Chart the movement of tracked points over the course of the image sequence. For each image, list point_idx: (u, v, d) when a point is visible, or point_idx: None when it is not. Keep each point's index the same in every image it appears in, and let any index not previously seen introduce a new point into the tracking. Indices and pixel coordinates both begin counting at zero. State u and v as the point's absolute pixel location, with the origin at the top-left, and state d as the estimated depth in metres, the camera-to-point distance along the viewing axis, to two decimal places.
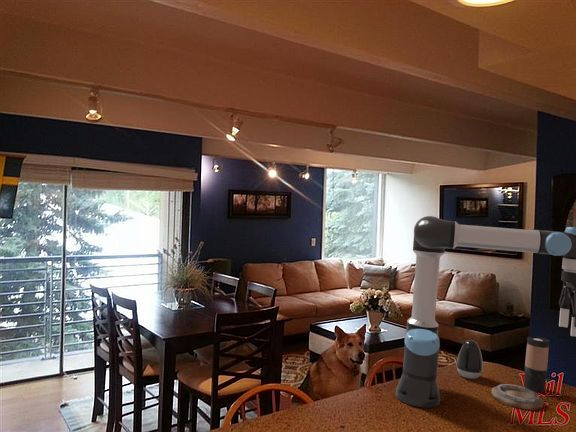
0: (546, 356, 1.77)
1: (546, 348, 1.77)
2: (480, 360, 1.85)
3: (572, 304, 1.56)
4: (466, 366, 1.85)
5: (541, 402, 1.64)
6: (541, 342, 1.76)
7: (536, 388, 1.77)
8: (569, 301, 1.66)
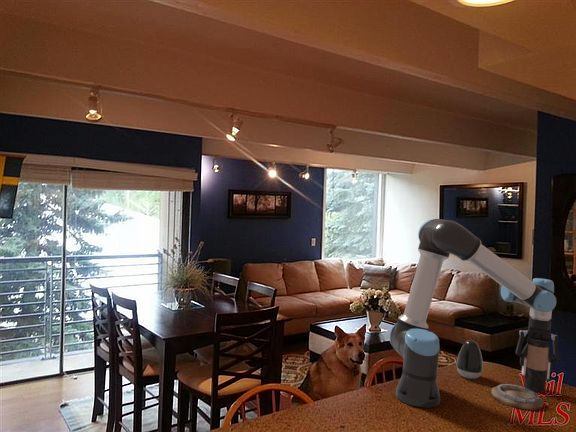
0: (546, 356, 1.77)
1: (546, 348, 1.77)
2: (480, 360, 1.85)
3: None
4: (466, 366, 1.85)
5: (541, 402, 1.64)
6: (541, 342, 1.76)
7: (536, 388, 1.77)
8: None
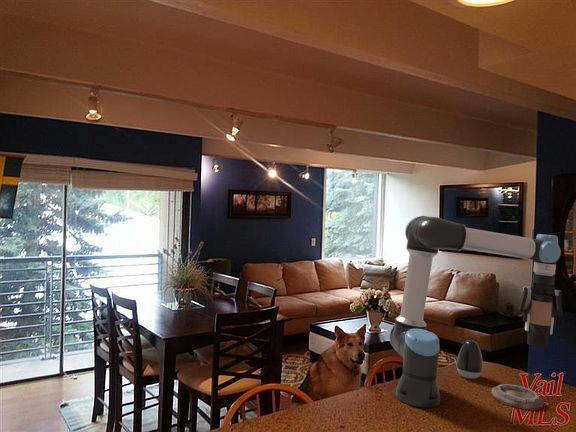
0: (550, 311, 1.76)
1: (550, 303, 1.76)
2: (480, 360, 1.85)
3: None
4: (466, 366, 1.85)
5: (541, 402, 1.64)
6: (545, 297, 1.76)
7: (540, 343, 1.77)
8: None
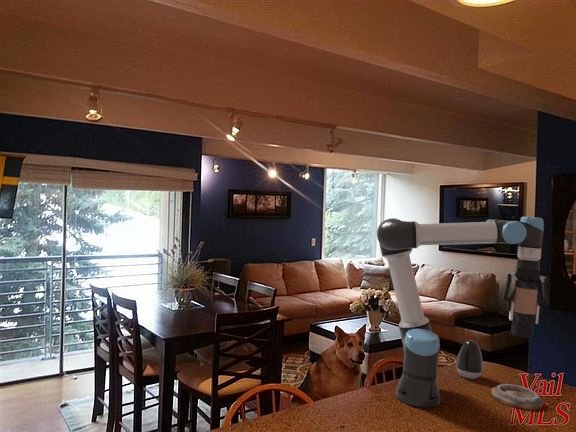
0: (535, 299, 1.64)
1: (535, 290, 1.64)
2: (480, 360, 1.85)
3: None
4: (466, 366, 1.85)
5: (541, 402, 1.64)
6: (529, 283, 1.64)
7: (524, 333, 1.65)
8: None
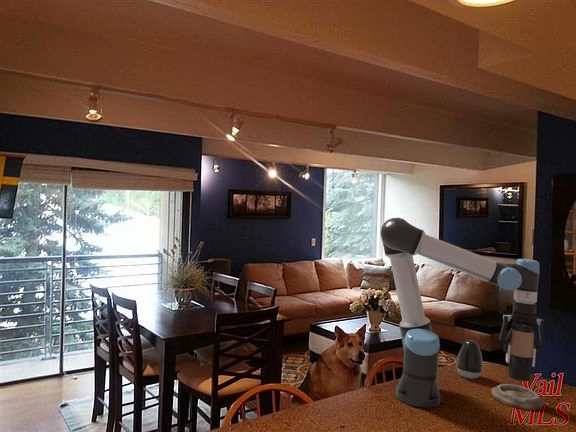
0: (531, 342, 1.65)
1: (531, 333, 1.65)
2: (480, 360, 1.85)
3: None
4: (466, 366, 1.85)
5: (541, 402, 1.64)
6: (526, 327, 1.64)
7: (521, 376, 1.65)
8: None
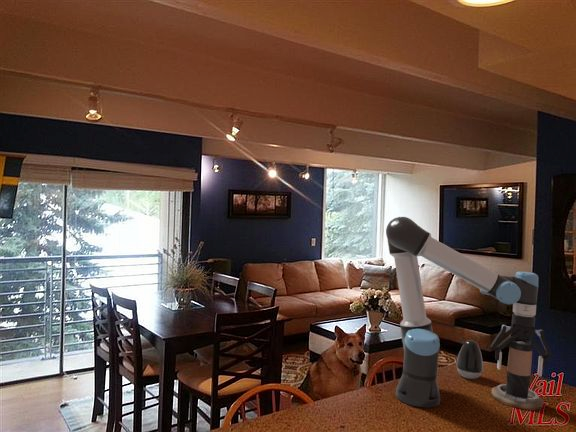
0: (529, 360, 1.65)
1: (529, 352, 1.65)
2: (480, 360, 1.85)
3: None
4: (466, 366, 1.85)
5: (541, 402, 1.64)
6: (524, 345, 1.64)
7: (519, 394, 1.65)
8: None
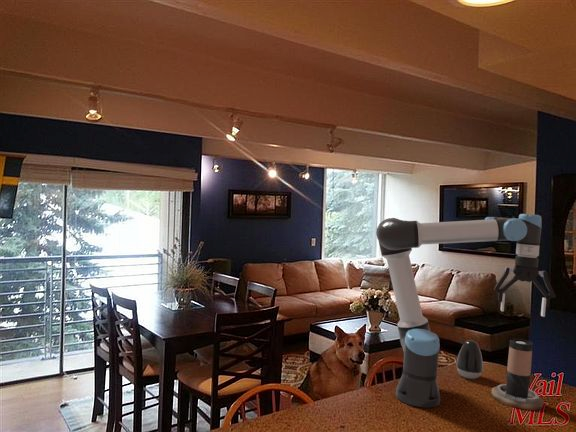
0: (529, 360, 1.65)
1: (529, 352, 1.65)
2: (480, 360, 1.85)
3: None
4: (466, 366, 1.85)
5: (541, 402, 1.64)
6: (524, 345, 1.64)
7: (519, 394, 1.65)
8: (539, 288, 1.67)
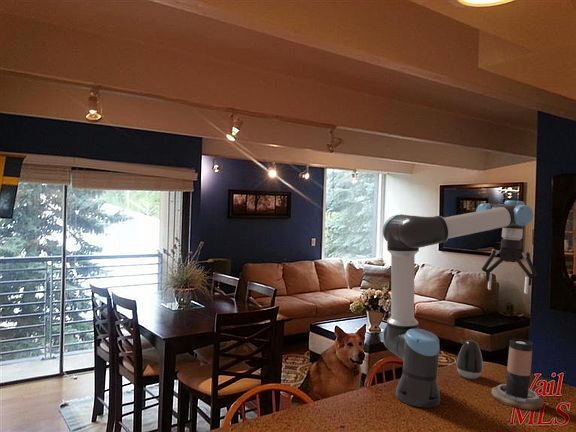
0: (529, 360, 1.65)
1: (529, 352, 1.65)
2: (480, 360, 1.85)
3: None
4: (466, 366, 1.85)
5: (541, 402, 1.64)
6: (524, 345, 1.64)
7: (519, 394, 1.65)
8: (522, 268, 1.84)
